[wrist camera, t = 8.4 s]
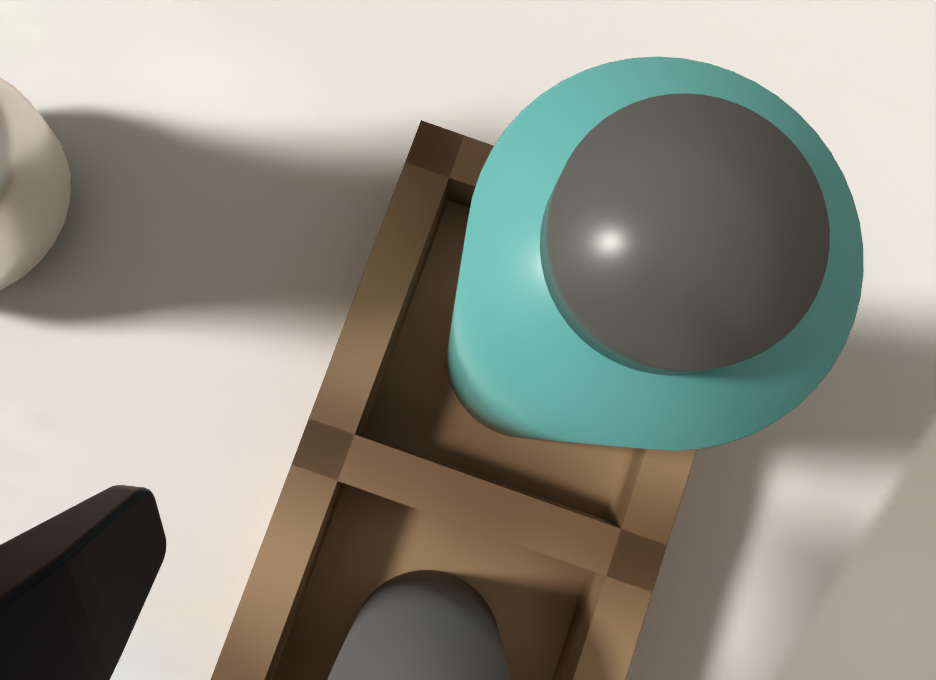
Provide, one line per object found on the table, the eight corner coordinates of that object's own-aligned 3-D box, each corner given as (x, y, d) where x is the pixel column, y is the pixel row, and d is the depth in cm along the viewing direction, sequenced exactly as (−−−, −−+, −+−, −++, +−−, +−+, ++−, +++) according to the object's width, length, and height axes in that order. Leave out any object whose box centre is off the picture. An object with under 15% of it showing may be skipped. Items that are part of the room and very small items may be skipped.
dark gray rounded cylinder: (389, 753, 20) (372, 848, 15) (324, 612, 20) (290, 666, 16) (525, 682, 20) (547, 755, 16) (459, 543, 21) (463, 578, 16)
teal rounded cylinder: (498, 468, 21) (621, 540, 7) (417, 331, 21) (386, 148, 7) (633, 386, 21) (994, 306, 8) (551, 253, 22) (753, -54, 8)
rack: (530, 863, 21) (545, 936, 18) (204, 746, 21) (165, 800, 18) (719, 264, 23) (761, 240, 20) (423, 160, 23) (420, 120, 20)
